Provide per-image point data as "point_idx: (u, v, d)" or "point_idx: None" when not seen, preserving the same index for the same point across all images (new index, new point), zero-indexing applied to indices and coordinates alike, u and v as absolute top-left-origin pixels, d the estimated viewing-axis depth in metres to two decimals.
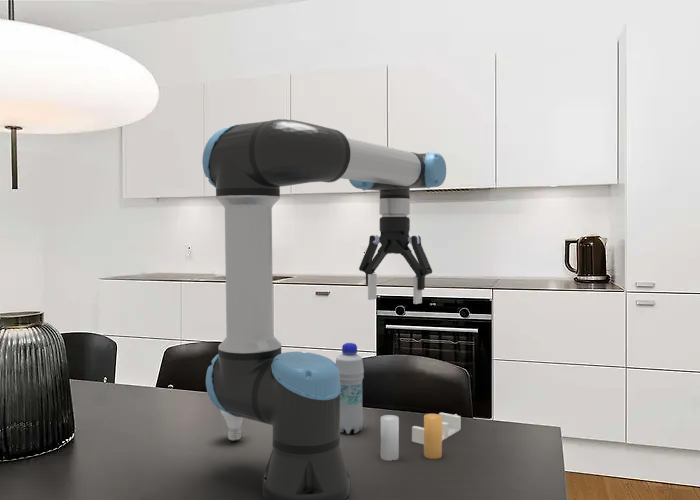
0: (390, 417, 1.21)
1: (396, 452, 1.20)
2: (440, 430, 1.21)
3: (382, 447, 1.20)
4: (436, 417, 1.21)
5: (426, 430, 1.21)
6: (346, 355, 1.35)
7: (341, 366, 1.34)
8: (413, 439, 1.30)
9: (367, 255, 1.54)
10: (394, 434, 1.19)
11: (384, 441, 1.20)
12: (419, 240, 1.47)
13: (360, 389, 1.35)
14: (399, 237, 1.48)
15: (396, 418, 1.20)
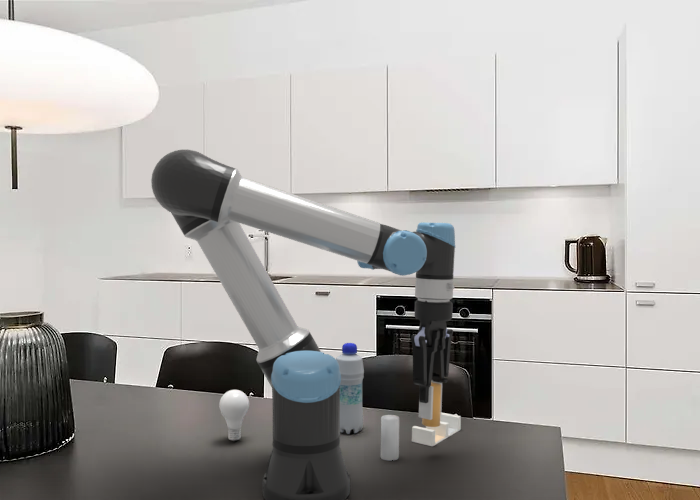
0: (390, 417, 1.21)
1: (396, 452, 1.20)
2: (439, 398, 1.20)
3: (382, 447, 1.20)
4: (435, 385, 1.20)
5: None
6: (346, 355, 1.35)
7: (341, 366, 1.34)
8: (413, 439, 1.30)
9: None
10: (394, 433, 1.19)
11: (384, 441, 1.20)
12: (419, 343, 1.16)
13: (360, 389, 1.35)
14: None
15: (396, 418, 1.20)
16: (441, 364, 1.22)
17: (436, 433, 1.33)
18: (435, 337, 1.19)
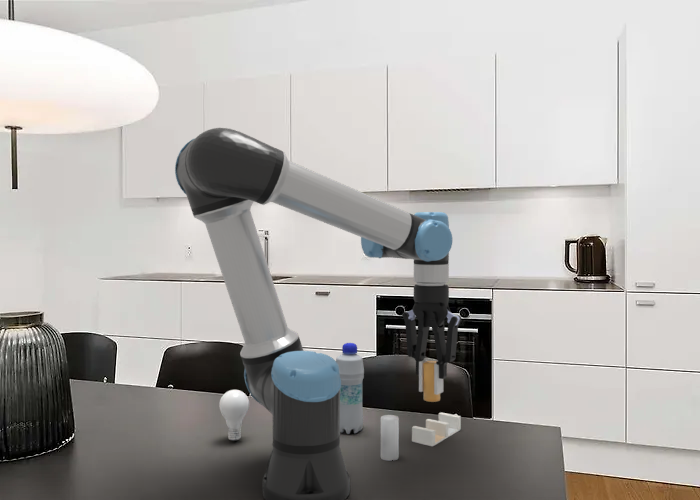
0: (390, 417, 1.21)
1: (396, 452, 1.20)
2: None
3: (382, 447, 1.20)
4: (435, 362, 1.32)
5: None
6: (346, 355, 1.35)
7: (341, 366, 1.34)
8: (413, 439, 1.30)
9: (409, 335, 1.32)
10: (393, 434, 1.19)
11: (384, 441, 1.19)
12: (458, 322, 1.27)
13: (360, 389, 1.35)
14: (439, 307, 1.28)
15: (396, 418, 1.20)
16: None
17: (436, 433, 1.33)
18: None
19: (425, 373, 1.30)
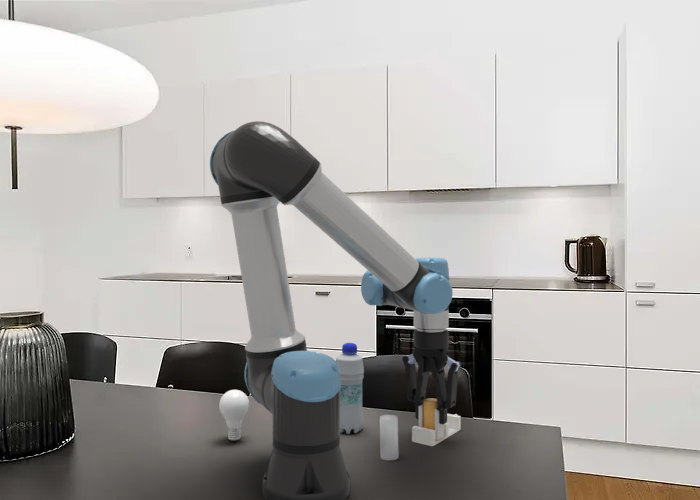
0: (389, 416, 1.21)
1: (396, 452, 1.20)
2: None
3: (381, 447, 1.20)
4: (435, 399, 1.32)
5: None
6: (346, 355, 1.35)
7: (341, 366, 1.34)
8: (413, 439, 1.30)
9: (409, 380, 1.33)
10: (392, 433, 1.19)
11: (383, 441, 1.20)
12: (458, 368, 1.28)
13: (360, 389, 1.35)
14: (439, 353, 1.28)
15: (395, 418, 1.20)
16: None
17: None
18: None
19: (425, 411, 1.30)
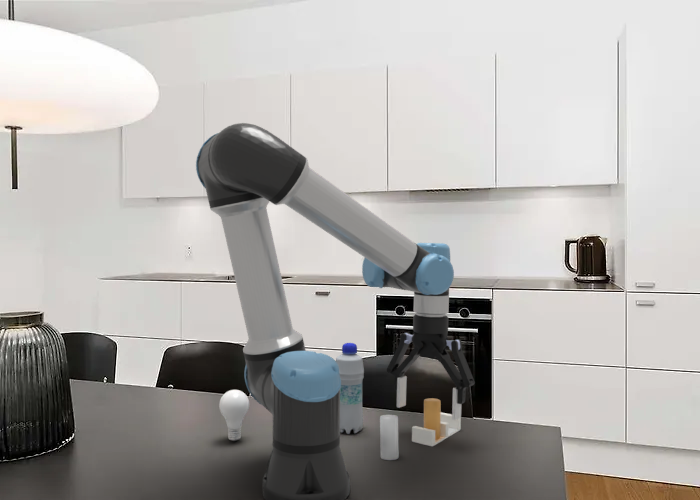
0: (389, 416, 1.21)
1: (396, 452, 1.20)
2: None
3: (381, 446, 1.20)
4: (435, 399, 1.32)
5: (438, 414, 1.30)
6: (346, 355, 1.35)
7: (341, 366, 1.34)
8: (413, 439, 1.30)
9: (397, 356, 1.34)
10: (392, 433, 1.19)
11: (383, 440, 1.20)
12: (460, 345, 1.27)
13: (360, 389, 1.35)
14: (436, 340, 1.28)
15: (395, 417, 1.20)
16: None
17: None
18: None
19: (426, 411, 1.30)
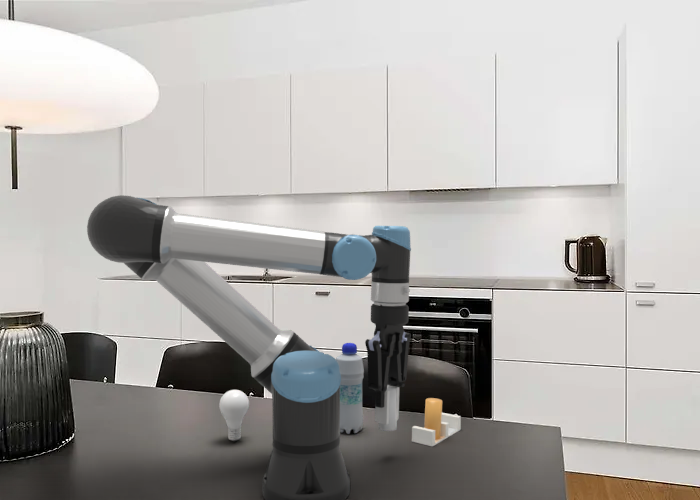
0: (388, 387, 1.21)
1: (393, 423, 1.19)
2: None
3: None
4: (437, 399, 1.32)
5: (440, 413, 1.30)
6: (346, 355, 1.35)
7: (341, 366, 1.34)
8: (413, 439, 1.30)
9: None
10: (389, 404, 1.19)
11: None
12: (373, 347, 1.15)
13: (360, 389, 1.35)
14: None
15: (393, 389, 1.20)
16: (398, 368, 1.21)
17: None
18: (390, 341, 1.18)
19: (427, 411, 1.30)
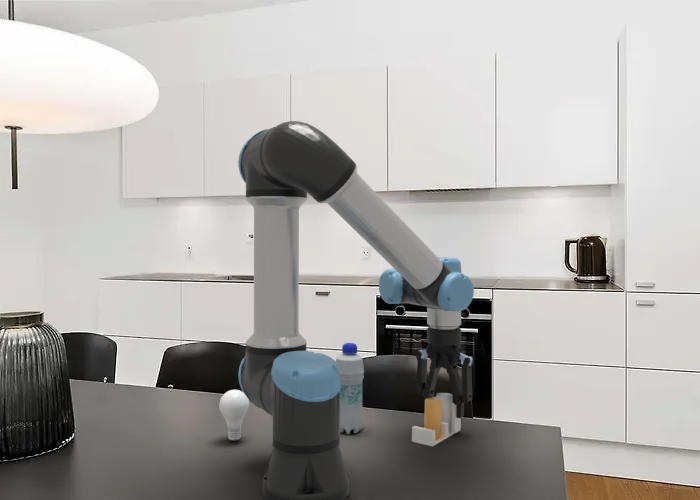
0: (442, 394, 1.36)
1: None
2: None
3: (448, 422, 1.34)
4: (436, 399, 1.32)
5: (440, 413, 1.30)
6: (346, 355, 1.35)
7: (341, 366, 1.34)
8: (413, 439, 1.30)
9: (420, 374, 1.38)
10: None
11: (450, 416, 1.35)
12: (471, 362, 1.32)
13: (360, 389, 1.35)
14: (451, 350, 1.33)
15: (446, 393, 1.37)
16: None
17: None
18: None
19: (428, 411, 1.30)
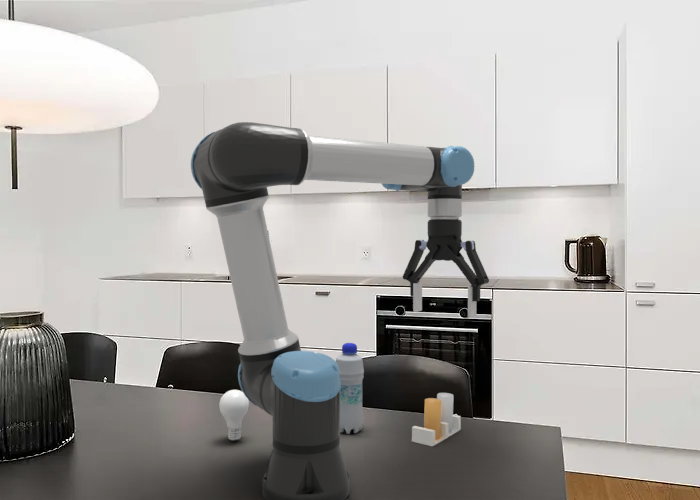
0: (443, 394, 1.36)
1: None
2: None
3: (448, 422, 1.34)
4: (435, 399, 1.32)
5: (440, 413, 1.31)
6: (346, 355, 1.35)
7: (341, 366, 1.34)
8: (413, 439, 1.30)
9: (412, 262, 1.38)
10: None
11: (450, 416, 1.35)
12: (474, 245, 1.31)
13: (360, 389, 1.35)
14: (451, 242, 1.33)
15: (448, 393, 1.37)
16: None
17: None
18: None
19: (428, 411, 1.30)
